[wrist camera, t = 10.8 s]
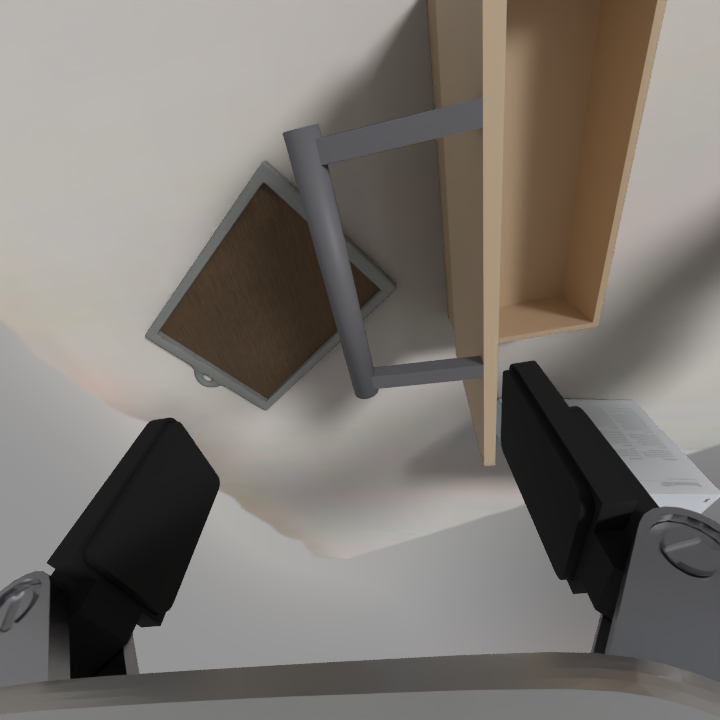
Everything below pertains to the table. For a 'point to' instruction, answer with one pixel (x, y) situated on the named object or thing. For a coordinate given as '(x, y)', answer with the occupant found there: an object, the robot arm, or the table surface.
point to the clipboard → (260, 296)
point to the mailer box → (562, 153)
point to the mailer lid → (464, 202)
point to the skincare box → (646, 453)
